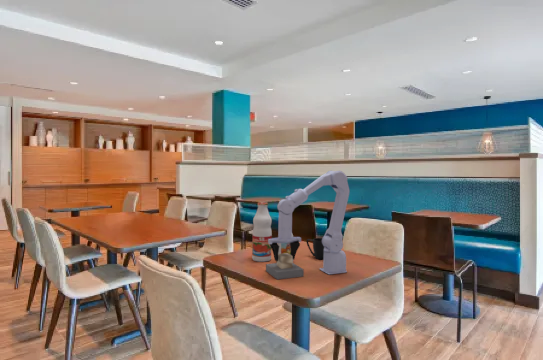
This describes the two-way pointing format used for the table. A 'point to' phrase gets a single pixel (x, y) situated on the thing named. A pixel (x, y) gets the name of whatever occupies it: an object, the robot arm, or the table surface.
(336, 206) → the robot arm
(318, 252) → the mug
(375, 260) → the table surface
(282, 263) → the maple cube
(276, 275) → the grey base
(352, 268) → the table surface
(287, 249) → the milk bottle
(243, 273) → the table surface
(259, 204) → the fruit juice
